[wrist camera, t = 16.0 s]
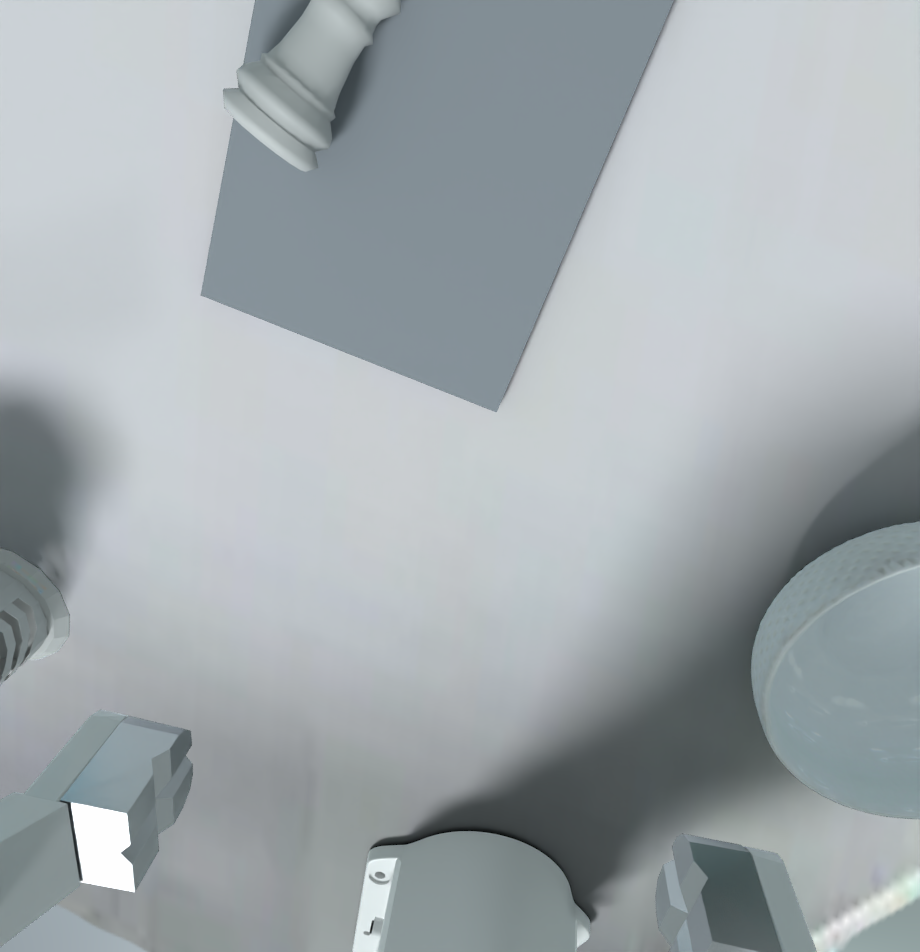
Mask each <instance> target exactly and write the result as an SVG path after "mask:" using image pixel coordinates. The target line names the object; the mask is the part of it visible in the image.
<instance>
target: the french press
mask: <svg viewBox="0 0 920 952" xmlns="http://www.w3.org/2000/svg"><path fill="white" fill-rule="evenodd" d="M69 619H70V615H69V612H68V610H67V608H66V605H65V603H64V601H63V598H62V596H61V594H60V591H59V590H58V589H57V588H56V587H55V586H54V585H53V584H52V582H51V581H50V580H49V579H48V578H47V577H46V576H45V575H44V573H43V572H42V571H41V570H40V569H39V568H37V567H36V566H34V565H32V564H31V563H29V562H28V561H26V560H25V559H23V558H22V557H20V556H19V555H17V554H16V553H14V552H11V551H8V550H5V549H2V548H0V686H1V684H2V683H3V681H5V680H6V679H8V678H9V677H10V676H11V675H12V674H13V673H15V671H16V670H17V668H19V667H20V666H22V665H23V664H24V663H25V662H26V661H27V660H40V659H42V658H45V657H47V656H49V655H52V654H54V653H56V652H58V651H59V650H60V648H61V647H62V645H63V644H64V642H65V641H66V640H67V638H68V637H69ZM10 670H13V671H12V672H11V674H9V672H10ZM2 674H3V675H2ZM8 674H9V675H8ZM1 675H2V676H1ZM7 675H8V676H7Z"/></svg>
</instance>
